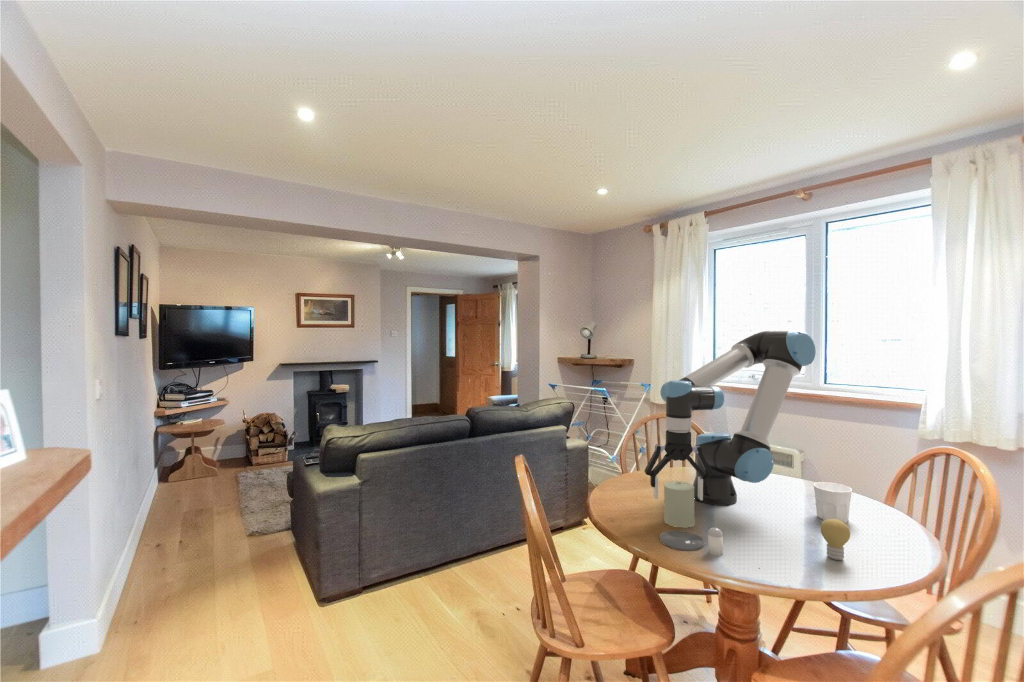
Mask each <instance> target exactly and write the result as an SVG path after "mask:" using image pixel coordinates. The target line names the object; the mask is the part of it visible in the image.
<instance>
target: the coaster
mask: <svg viewBox="0 0 1024 682" xmlns="http://www.w3.org/2000/svg"><path fill="white" fill-rule="evenodd" d="M660 540H661V541H660ZM659 541H660V543H662V544H663V543H664V544H665V545H664V544H663V545H664V546H666V545H667V546H666V547H668V546H669V547H668V548H670V547H671V549H673V548H674V549H675V550H678V551H686V552H687V551H688V552H690V551H698V550H700V549H701V550H702V549H703V548H704V546H705V540H704V538H702V537H701V536H700V535H698V534H695V533H693V532H690V531H685V530H666V531H662V532H661V533H660V534H659Z"/></svg>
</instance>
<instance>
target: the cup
mask: <svg viewBox="0 0 1024 682" xmlns="http://www.w3.org/2000/svg"><path fill="white" fill-rule="evenodd" d="M813 491H814V498H815V510H816V517H818V518H819V519H822V520H823V521H825V520H828V519H837V520H840V521H842V522H843V523H845V524H847V523H848V521H849V519H850V517H849V516H850V506H851V500H852V493H853V492H852V491H853V489H852V488H851V487H850V486H847V485H844V484H841V483H835V482H826V481H819V482H814V483H813Z"/></svg>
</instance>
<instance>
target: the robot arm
mask: <svg viewBox="0 0 1024 682" xmlns="http://www.w3.org/2000/svg"><path fill="white" fill-rule="evenodd" d="M730 348H731V349H730V350H728V351H727V352H725V353H723V354H722V355H720V356H717V358H715V359H713V360H711V361H710V362H707V363H706V364H704V365H703V366H701V367H699V368H697V369H696V370H694V371H692V372H690V373H689V374H687V375H685V376H684V377H683V378H681V379H679V380H678V379H677V380H669V381H667V382H665V383H664V384H663V385H662V386H661V387H660V397H661V398H662V400H663V401H664V402H665V428H666V430H665V444H664V445H659V444H655V445H654V446H655V447H654V452H653V453H652V455H651V457H650V459H649V461H648V462H647V465H646V467H645V468H644V470H643V471H644V473H645V474H646V476H650V480H649V481H650V483H649V484H650V486H651V488H653V498H655V500H658V499H659V477H658V474H659V473H660V472H661V471H662V470H663V469H664V467H665V466H667V464H668V463H670V462H671V460H672V461H675V462H676V461H683V462H684V461H686V460H687V462H688V463H689V464H690V465H691V467H692V468H693V469H694V470H695V477H694V479H693V483H692V485H693V486H694V487H695V488H694V498H695V499H697V500H699V501H698V502H700V501H701V502H700V503H703V502H705V503H704V504H708V503H709V504H710V505H714V504H716V505H715V506H727V505H728V506H729V505H733V504H736V503H737V501H738V494H737V491H736V488H735V486H734V482H733V479H732V477H733V478H736V479H739V481H743V482H748V483H752V484H756V483H757V484H758V483H760V482H763V481H765V480H766V479H767V478H768V477H769V476H770V474H772V471H773V469H774V465H775V464H774V463H775V462H774V461H773V460H774V457H773V454H772V453H771V449H772V447H771V445H770V443H769V439H770V436H771V434H772V431H773V429H774V426H775V424H776V421H777V419H778V416H779V413H780V410H781V409H782V405H783V403H784V401H785V398H786V395H787V393H788V390H789V387H790V385H791V382H792V380H793V377H796V376H798V375H799V374H800V373H801V371H802V368H803V367H806V366H809V365H811V364H812V363H813V362H814V360H815V357H816V354H817V353H816V350H817V349H816V345H815V342H814V340H813V338H812V336H810V335H809V333H807V332H805V331H802V330H794V329H792V330H765V331H760V332H758V333H754V334H752V335H750V336H748V337H745V338H744V339H742V340H740V341H738V342H737V343H735V344H734V345H732V346H731V347H730ZM757 364H762V365H763V366H764V371H763V374H762V375H761V378H760V381H759V383H758V386H757V388H756V391H755V393H754V396H753V399H752V401H751V404H750V406H749V409H748V411H747V414H746V416H745V419H744V421H743V425H742V427H741V429H740V431H739V430H738V431H737V432H734V433H733V436H732V435H731V434H730V433H724V432H714V433H713V432H708V433H707V432H706V433H701V434H698V435H697V436H696V438H695V446H692V432H691V430H692V412H694V411H713V410H718V409H720V408H722V407H723V405H724V403H725V394H724V392H723V390H722V388H720V387H718V386H715V385H716V384H719V383H720V382H721V381H723V380H725V379H727V378H728V377H730V376H731V375H734V374H735V373H737V372H739V371H740V370H742V369H743V368H745V369H748V368H751V367H752V366H754V365H757ZM731 436H732V437H731ZM663 451H665V455H664V456H663V458H662V459H661V460H660V461H659V462H658V463H657V461H658V459H659V457H660V455H661V453H663ZM693 452H694V454H695V460H694V459H693V458H692V457H691V456H690V455H691V453H693ZM656 463H657V465H656ZM695 499H694V500H695ZM697 500H696V501H697ZM709 504H708V505H709Z"/></svg>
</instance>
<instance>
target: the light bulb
mask: <svg viewBox="0 0 1024 682" xmlns="http://www.w3.org/2000/svg"><path fill="white" fill-rule="evenodd" d="M820 533H821V535H822V538H823V539H824V540H825V542H826V555H827V557H829V559H831V560H835V561H841V560H843V559H845V556H844V555H845V552H844V551H845V547H844V546H845V545H846V544H847V543H848V542H849V541H850V539H851V530H850V527H849V526H848V525H847V523H843V522H842V521H840V520H837V519H828V520H825V521H824V520H823V521H822V522H821V525H820Z"/></svg>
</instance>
